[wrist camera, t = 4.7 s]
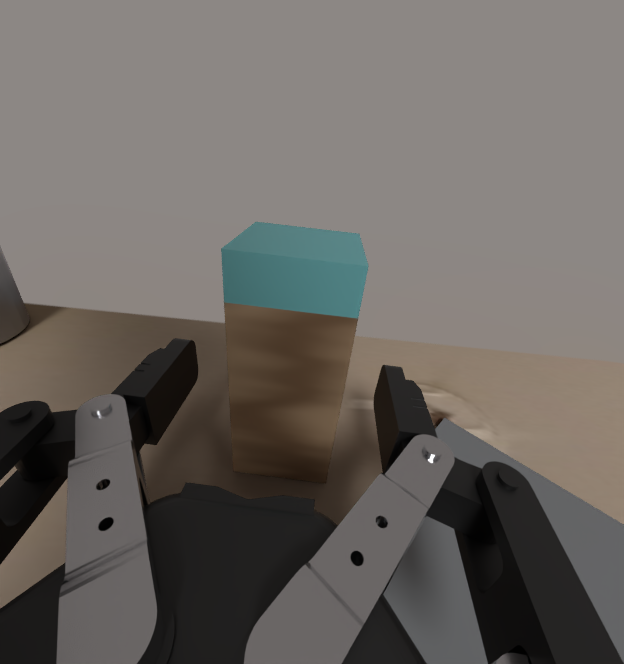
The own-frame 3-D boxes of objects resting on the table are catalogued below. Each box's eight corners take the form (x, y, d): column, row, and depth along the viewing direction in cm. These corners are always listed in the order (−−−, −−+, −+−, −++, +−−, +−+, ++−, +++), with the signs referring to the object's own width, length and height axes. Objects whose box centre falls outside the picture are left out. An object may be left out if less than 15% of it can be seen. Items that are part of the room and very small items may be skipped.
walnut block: (233, 471, 16) (221, 248, 10) (255, 405, 21) (255, 221, 15) (325, 483, 16) (368, 265, 10) (328, 414, 21) (359, 233, 14)
